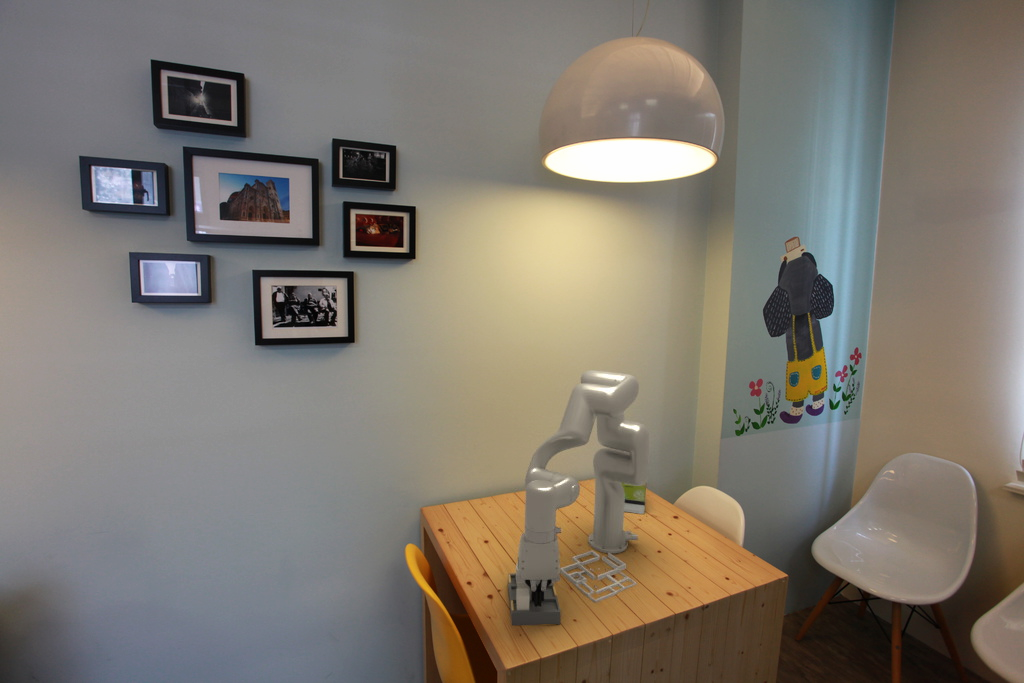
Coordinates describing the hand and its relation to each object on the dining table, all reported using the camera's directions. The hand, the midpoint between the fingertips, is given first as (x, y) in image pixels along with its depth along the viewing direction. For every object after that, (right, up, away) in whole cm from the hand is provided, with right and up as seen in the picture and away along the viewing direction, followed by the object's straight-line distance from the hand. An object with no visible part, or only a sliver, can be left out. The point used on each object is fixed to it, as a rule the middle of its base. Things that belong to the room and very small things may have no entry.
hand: (537, 603), depth 114 cm
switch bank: (-1, -3, +6) cm, 7 cm away
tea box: (+37, 0, +64) cm, 74 cm away
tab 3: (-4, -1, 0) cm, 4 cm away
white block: (-3, -1, +5) cm, 6 cm away
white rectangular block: (-4, 0, +11) cm, 12 cm away
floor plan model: (+17, -3, +22) cm, 28 cm away
